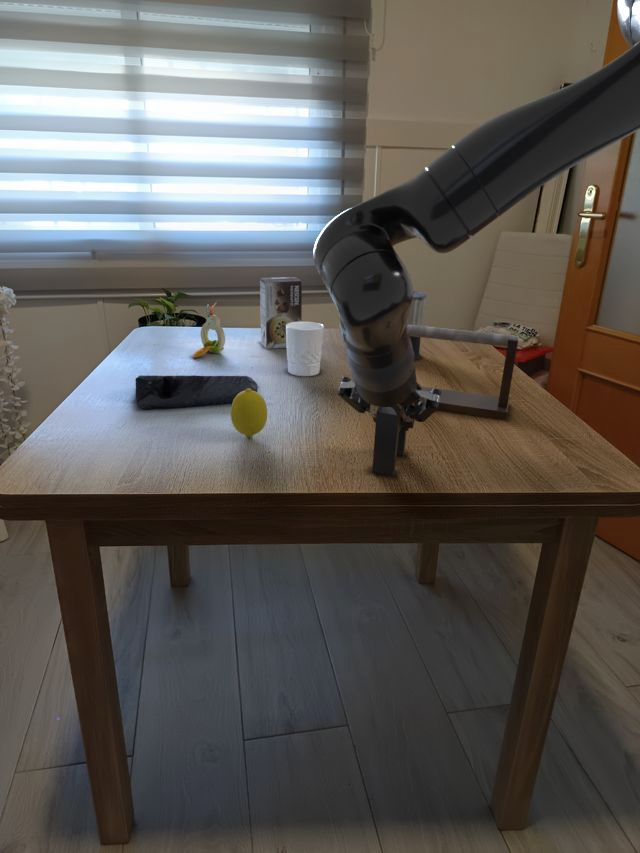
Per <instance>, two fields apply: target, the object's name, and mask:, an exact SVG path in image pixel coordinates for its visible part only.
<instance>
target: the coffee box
mask: <svg viewBox="0 0 640 853" xmlns="http://www.w3.org/2000/svg"><path fill="white" fill-rule="evenodd" d="M259 298H260V300H259V301H260V305H259V306H260V343H261V345H262V346H263V347H264V348H265V349H266V350H270V349H283V348H286V349H287V347H286V324H288V323H291V322H300V321H303V320H302V314H303V312H302V311H303V304H302V303H303V281H302V280H301V279H299V278H298V277H296V276H282V277H281V276H279V277H278V276H277V277H275V276H274V277H271V276H270V277H260V278H259Z"/></svg>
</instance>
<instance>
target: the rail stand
mask: <svg viewBox="0 0 640 853" xmlns="http://www.w3.org/2000/svg"><path fill="white" fill-rule="evenodd" d="M408 333H409V336H414V337H421V338H424V339H433V340H443V341H452V342H460V343H461V342H462V343H470V344H479V345H488V346H489V345H490V346H497V347H505V348H506V352H505V353H506V354H505V359H504V363H503V364H504V365H503V370H502V377H501V383H500V389H499V395H498V396H496V395H489V394H481V393H476V392H475V393H473V392H466V391H459V390H452V389H444V388H438V387H429V386H423V385H420V386H421V388H422V390H423V391H426V392H427V391H428V392H431V391H432V390H433V389H438V390H440V391H441V396H440V402H439V406H438V410H437V411H440V412H447V413H456V414H462V415H468V416H476V417H482V418H489V419H490V418H491V419H496V420H504V421H507V419H508V418H507V417H508V411H509V404H510V391H511V386H512V380H513V374H514V367H515V362H516V356H517V352H518V345H519V338H520V337H519V335H512V334H503V333H493V332H483V331H474V330H464V329H455V328H444V327H435V326H425V325H422V326H417V325H408ZM420 401H421V400H418V401H416V402H414V404H415V405H418V404H419V402H420Z"/></svg>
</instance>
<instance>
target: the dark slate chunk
mask: <svg viewBox="0 0 640 853" xmlns="http://www.w3.org/2000/svg"><path fill="white" fill-rule="evenodd" d="M248 388H250V389H251V390H253V391H256V392H257V393H258V389H259V386H258V383H257V382H256V381H255V380H254V379H253V378H252V377H250V376H248V375H197V374H195V375H192V374H191V375H142V374H141V375H138V376H137V377H136V378H135V400H136V402H137V406H138V407H139V408H142V409H146V410H150V409H155V408H157V409H158V408H165V409H168V408H172V409H173V408H174V409H175V408H189V407H192V406H208V405H211V406H213V405H215V404H216V405H220V404H232V403H233V400H234V398H235V397H236V396H237V395H238V394H239V393H240V392H242V391H245V390H246V389H248Z"/></svg>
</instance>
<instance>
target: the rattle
mask: <svg viewBox="0 0 640 853" xmlns="http://www.w3.org/2000/svg"><path fill="white" fill-rule="evenodd" d="M216 304H218V301H216V302H215V303H214V304H213V305H212V306H211V307H210V305H209V304H207V305H206V318H207V319H206V322H205V323H203V324H202V326H201V329H200V339H201V343H202V345H203V346H202V347H201V348H199V349H198V350H197V351H195V352H194V353H193V354H192V357H193V358H195V359H196V358H200V357H202V356H204V355H205V354H207V352H209V353H214V354H219V353H220V352H222V351H224V349H225V348H224V346H225V343H226V335H225V334H226V333H225V330H224V329H223V327H222V326H221V320H220V318H219V316H218V315H216V314H214V313H213V310H214V307H215V306H216ZM210 330H212V331H215V333H216V336H217V339H214V340H211V339H209V332H210Z"/></svg>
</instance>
